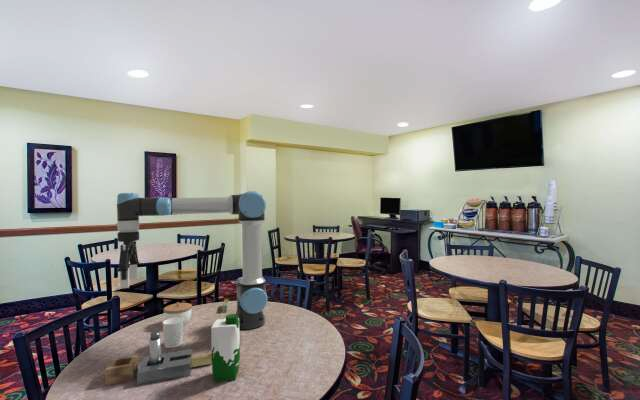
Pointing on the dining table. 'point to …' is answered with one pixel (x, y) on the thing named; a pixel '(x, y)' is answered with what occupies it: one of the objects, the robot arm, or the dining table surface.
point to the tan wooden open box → (121, 370)
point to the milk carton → (225, 348)
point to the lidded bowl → (178, 311)
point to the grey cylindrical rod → (155, 348)
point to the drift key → (201, 359)
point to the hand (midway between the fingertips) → (129, 283)
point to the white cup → (173, 332)
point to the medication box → (225, 306)
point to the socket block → (165, 367)
